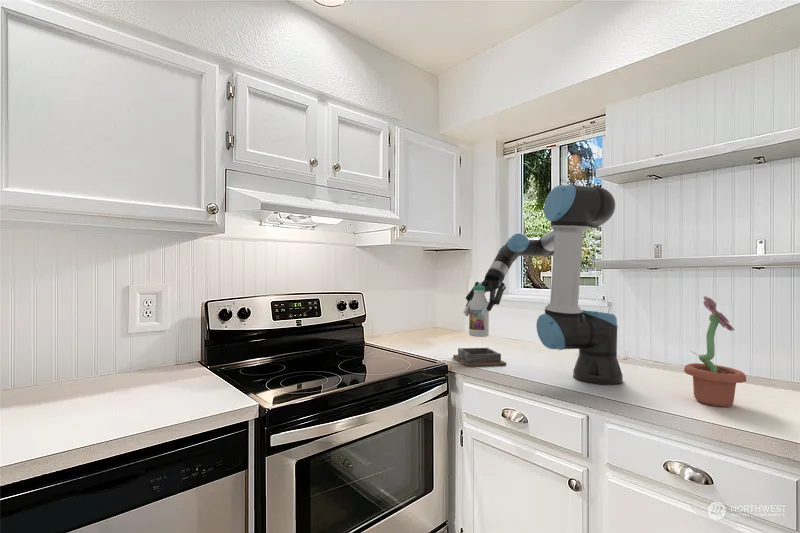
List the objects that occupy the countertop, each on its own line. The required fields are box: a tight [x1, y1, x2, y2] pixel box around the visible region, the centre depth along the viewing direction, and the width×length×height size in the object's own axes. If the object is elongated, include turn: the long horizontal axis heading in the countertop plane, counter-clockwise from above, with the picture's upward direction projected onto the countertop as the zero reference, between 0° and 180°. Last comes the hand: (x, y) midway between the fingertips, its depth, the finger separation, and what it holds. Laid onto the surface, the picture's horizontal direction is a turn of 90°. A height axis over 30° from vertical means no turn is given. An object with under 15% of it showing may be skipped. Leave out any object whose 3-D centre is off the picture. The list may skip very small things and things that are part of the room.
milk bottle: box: [468, 285, 490, 338], centre depth 162 cm, size 8×8×20 cm
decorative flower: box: [683, 296, 747, 408], centre depth 113 cm, size 15×14×30 cm
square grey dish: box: [453, 347, 507, 368], centre depth 162 cm, size 16×16×4 cm
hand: (474, 315), depth 160 cm, fingers closed on milk bottle, 7 cm apart
